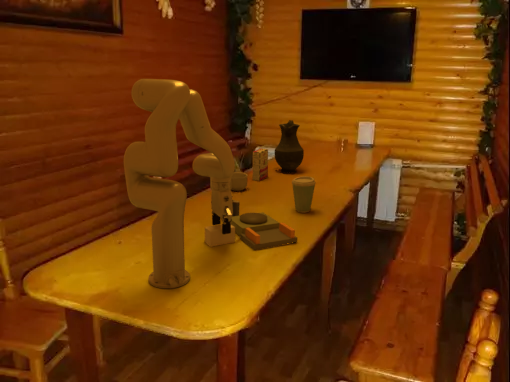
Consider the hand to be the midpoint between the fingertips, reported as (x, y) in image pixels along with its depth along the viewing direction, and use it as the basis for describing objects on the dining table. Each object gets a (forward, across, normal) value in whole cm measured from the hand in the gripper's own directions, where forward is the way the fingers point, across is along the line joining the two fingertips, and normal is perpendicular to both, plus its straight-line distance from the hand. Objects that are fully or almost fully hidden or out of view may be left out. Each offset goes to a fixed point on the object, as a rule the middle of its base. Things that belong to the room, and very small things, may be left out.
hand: (221, 228), depth 175 cm
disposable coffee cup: (+6, +20, -47) cm, 52 cm away
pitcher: (+8, +88, -80) cm, 119 cm away
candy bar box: (+8, +78, -55) cm, 96 cm away
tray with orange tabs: (+5, +1, -16) cm, 17 cm away
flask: (+6, +20, -12) cm, 25 cm away
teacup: (+7, +64, -34) cm, 72 cm away
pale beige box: (+5, 0, +1) cm, 5 cm away
